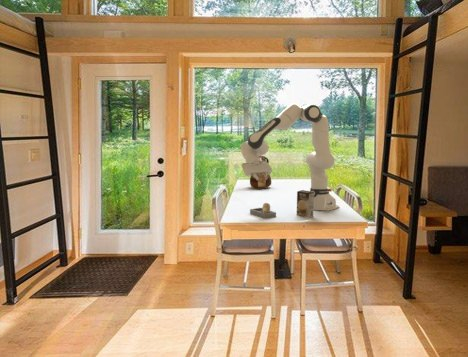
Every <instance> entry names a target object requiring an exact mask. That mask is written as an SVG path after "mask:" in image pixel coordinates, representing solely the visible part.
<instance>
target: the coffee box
mask: <svg viewBox="0 0 468 357" xmlns="http://www.w3.org/2000/svg"><path fill="white" fill-rule="evenodd" d="M296 216H301V217H305V218H313V217H314V192H311V191H310V190H304V189H302V190H298V191H296Z"/></svg>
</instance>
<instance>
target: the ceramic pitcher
mask: <svg viewBox="0 0 468 357" xmlns="http://www.w3.org/2000/svg"><path fill="white" fill-rule="evenodd" d="M259 157H260V158H264V159H266V160H267V163H269V164H270V161H269V158H268V157H266V156H265V155H261V156H259ZM257 176H259V175H257ZM267 177H268V179H267V180H266V186H265V187H258V180H256V178H255V177H253V176H250V177H249V185H250V187H252V188H253V189H265V188H268V187H270V186H272V177H271V174H267Z"/></svg>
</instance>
